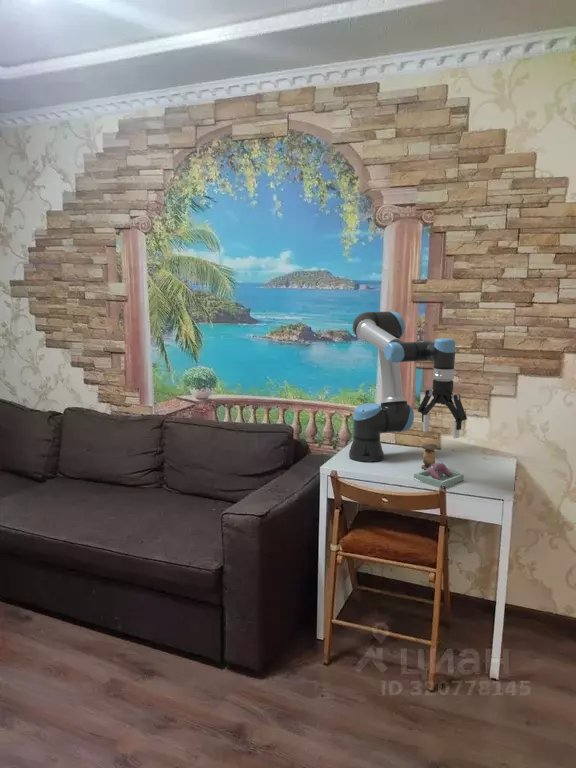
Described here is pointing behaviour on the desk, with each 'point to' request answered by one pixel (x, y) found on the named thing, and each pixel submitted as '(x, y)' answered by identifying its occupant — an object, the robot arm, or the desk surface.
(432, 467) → the video game controller
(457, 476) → the green square tray
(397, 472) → the desk surface
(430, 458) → the bobbin
